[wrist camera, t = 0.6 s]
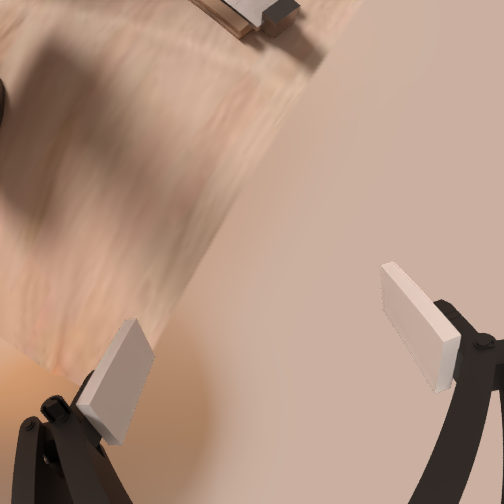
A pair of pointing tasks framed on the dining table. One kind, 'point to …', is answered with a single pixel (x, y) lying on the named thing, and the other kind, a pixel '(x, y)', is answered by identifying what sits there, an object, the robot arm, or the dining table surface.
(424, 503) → the robot arm
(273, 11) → the grey sliding carriage
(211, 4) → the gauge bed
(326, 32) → the dining table surface
